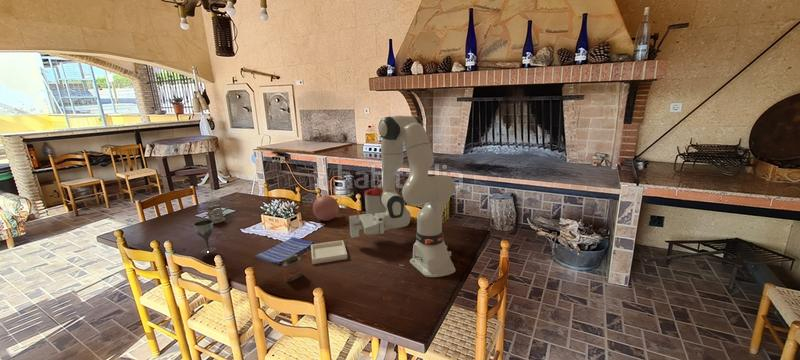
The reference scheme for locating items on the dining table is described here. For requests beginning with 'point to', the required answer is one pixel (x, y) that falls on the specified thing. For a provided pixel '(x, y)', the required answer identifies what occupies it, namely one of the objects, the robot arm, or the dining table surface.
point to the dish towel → (285, 250)
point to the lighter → (292, 268)
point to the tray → (328, 252)
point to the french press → (217, 215)
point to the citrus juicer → (373, 201)
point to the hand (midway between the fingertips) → (352, 225)
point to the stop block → (352, 221)
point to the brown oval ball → (325, 208)
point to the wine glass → (205, 233)
